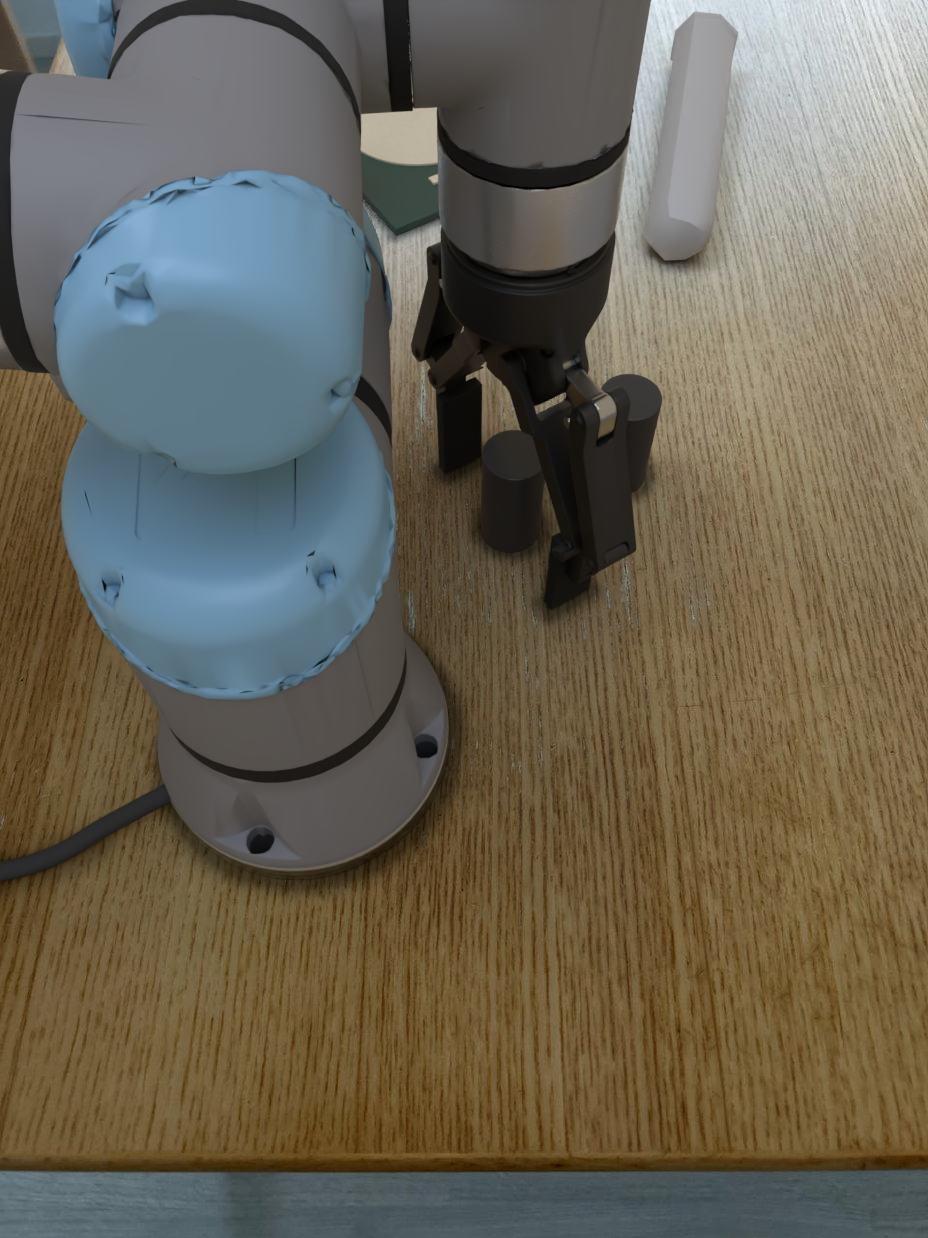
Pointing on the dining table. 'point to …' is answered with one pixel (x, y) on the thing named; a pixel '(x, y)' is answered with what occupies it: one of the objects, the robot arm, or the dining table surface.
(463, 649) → the dining table surface
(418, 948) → the dining table surface
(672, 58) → the tube
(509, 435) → the eye peg left
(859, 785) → the dining table surface
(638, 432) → the eye peg right
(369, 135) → the green board with circle
